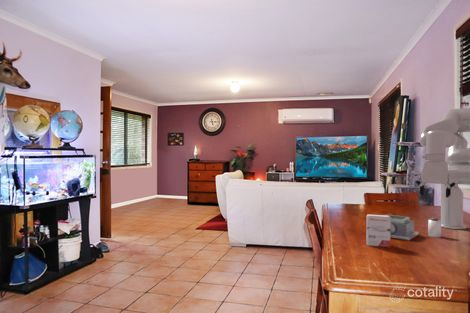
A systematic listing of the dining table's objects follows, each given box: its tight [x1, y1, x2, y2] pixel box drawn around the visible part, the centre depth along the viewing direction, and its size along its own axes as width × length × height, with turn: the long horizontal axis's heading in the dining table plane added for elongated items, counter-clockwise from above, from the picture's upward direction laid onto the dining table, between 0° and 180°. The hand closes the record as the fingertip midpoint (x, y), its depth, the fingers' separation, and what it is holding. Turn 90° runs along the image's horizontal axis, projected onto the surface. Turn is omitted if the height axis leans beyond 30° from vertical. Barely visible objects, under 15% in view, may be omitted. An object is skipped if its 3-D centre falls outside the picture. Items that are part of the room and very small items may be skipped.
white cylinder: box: [427, 217, 442, 238], centre depth 149 cm, size 5×5×8 cm
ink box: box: [365, 214, 392, 248], centre depth 132 cm, size 9×5×12 cm, turn 71°
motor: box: [385, 214, 419, 241], centre depth 151 cm, size 16×16×8 cm
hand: (434, 196), depth 149 cm, fingers open, 9 cm apart
